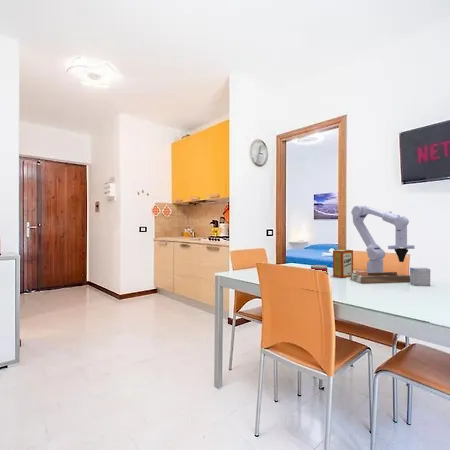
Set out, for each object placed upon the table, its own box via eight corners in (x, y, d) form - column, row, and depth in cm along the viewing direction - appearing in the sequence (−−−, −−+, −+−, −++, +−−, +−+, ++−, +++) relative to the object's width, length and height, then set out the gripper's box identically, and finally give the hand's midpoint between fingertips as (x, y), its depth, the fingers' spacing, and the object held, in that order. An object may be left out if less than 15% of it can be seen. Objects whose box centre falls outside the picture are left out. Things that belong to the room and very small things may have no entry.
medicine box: (425, 284, 158) (425, 267, 158) (430, 286, 154) (430, 268, 154) (409, 284, 159) (409, 267, 159) (414, 285, 155) (414, 268, 154)
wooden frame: (350, 279, 173) (350, 273, 173) (395, 278, 175) (395, 272, 175) (361, 283, 161) (361, 277, 161) (410, 282, 163) (410, 275, 163)
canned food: (315, 285, 157) (315, 264, 157) (330, 288, 152) (330, 265, 151) (307, 288, 152) (307, 266, 152) (322, 290, 146) (322, 267, 146)
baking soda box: (342, 278, 177) (341, 250, 177) (333, 276, 182) (332, 249, 182) (353, 276, 181) (353, 249, 181) (344, 275, 187) (343, 248, 187)
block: (355, 277, 169) (355, 270, 169) (363, 276, 170) (363, 270, 170) (360, 278, 165) (360, 272, 165) (368, 278, 165) (368, 271, 165)
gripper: (393, 238, 170) (393, 263, 170) (418, 238, 171) (418, 262, 171) (385, 237, 177) (385, 261, 177) (409, 237, 178) (409, 260, 178)
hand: (401, 261), depth 174 cm, fingers closed
